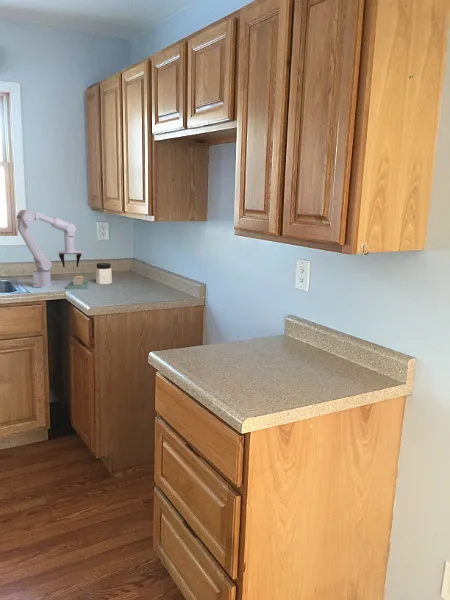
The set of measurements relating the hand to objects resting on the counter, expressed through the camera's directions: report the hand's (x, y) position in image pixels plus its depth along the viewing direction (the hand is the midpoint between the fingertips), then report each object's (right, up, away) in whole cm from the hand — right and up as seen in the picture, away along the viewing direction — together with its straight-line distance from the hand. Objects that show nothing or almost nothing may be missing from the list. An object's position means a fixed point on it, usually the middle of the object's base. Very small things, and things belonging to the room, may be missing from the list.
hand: (70, 266), depth 305 cm
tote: (+8, -13, -10) cm, 18 cm away
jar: (+19, -10, +4) cm, 22 cm away
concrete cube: (+8, -13, -14) cm, 21 cm away
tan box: (+7, -11, -6) cm, 14 cm away
